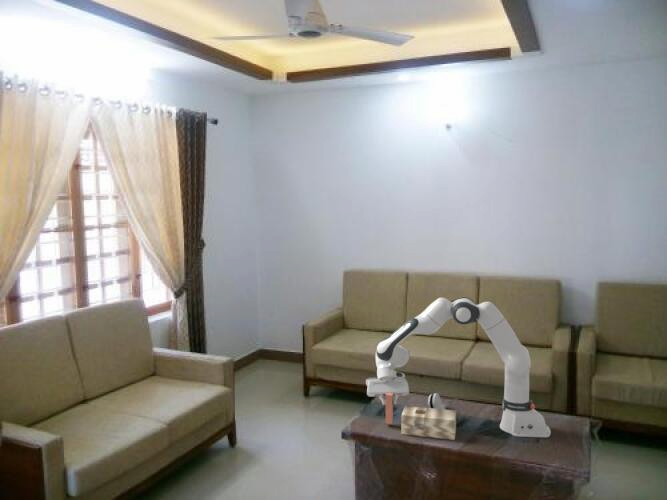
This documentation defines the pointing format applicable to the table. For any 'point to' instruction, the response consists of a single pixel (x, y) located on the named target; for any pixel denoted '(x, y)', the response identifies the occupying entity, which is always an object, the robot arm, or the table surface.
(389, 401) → the salmon pink square peg
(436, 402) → the hinge
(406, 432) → the beige wooden block
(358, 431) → the table surface
